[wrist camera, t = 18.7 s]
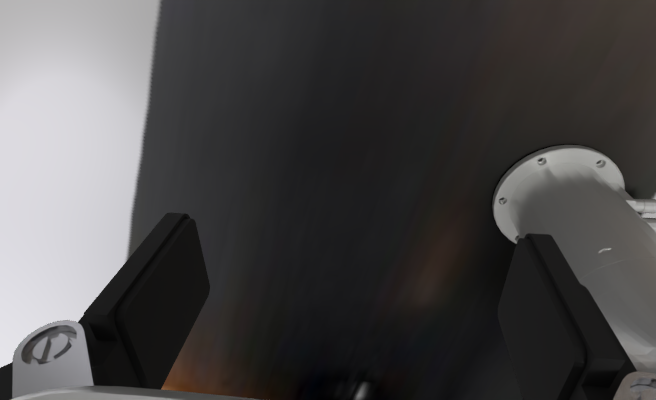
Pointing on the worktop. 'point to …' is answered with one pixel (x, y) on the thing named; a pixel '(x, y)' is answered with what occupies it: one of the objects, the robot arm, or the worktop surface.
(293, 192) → the worktop surface
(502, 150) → the worktop surface
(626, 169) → the worktop surface
